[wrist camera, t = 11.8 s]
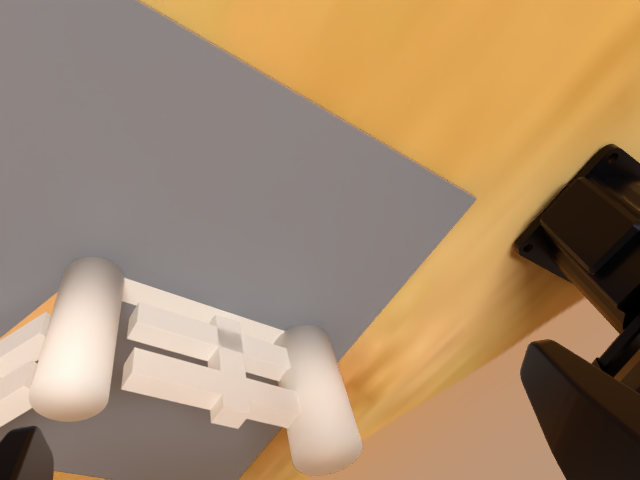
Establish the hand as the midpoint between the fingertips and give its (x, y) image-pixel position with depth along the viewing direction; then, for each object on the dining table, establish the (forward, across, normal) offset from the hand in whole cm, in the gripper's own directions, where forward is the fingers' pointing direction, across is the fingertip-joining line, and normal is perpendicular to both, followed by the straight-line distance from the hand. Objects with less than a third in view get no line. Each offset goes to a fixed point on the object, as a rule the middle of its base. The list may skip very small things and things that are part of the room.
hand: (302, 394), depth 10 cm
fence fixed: (+13, +2, +9) cm, 16 cm away
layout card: (+13, +7, +7) cm, 17 cm away
